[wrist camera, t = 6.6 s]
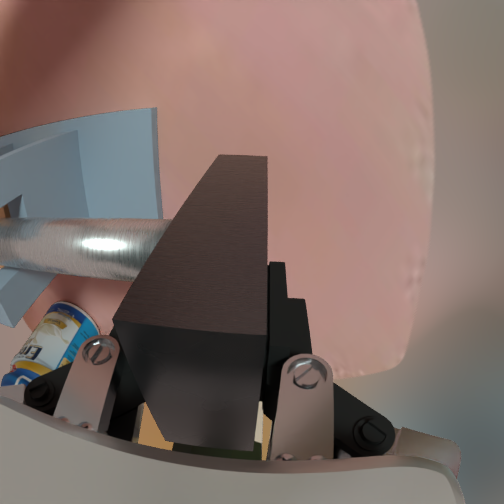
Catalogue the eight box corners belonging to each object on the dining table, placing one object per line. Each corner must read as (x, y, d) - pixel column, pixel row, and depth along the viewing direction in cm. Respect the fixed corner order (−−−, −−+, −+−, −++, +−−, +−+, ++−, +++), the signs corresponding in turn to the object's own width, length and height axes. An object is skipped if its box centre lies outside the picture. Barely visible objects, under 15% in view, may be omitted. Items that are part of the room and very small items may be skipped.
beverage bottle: (85, 351, 36) (33, 465, 19) (43, 312, 33) (-25, 423, 16) (113, 334, 33) (54, 472, 16) (65, 288, 30) (-20, 420, 13)
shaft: (47, 231, 21) (-59, 346, 9) (33, 165, 18) (-104, 260, 6) (262, 241, 21) (252, 451, 8) (267, 156, 18) (266, 334, 5)
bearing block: (8, 234, 27) (-63, 303, 15) (-11, 140, 21) (-104, 188, 9) (165, 241, 26) (100, 362, 14) (156, 107, 20) (35, 141, 8)
